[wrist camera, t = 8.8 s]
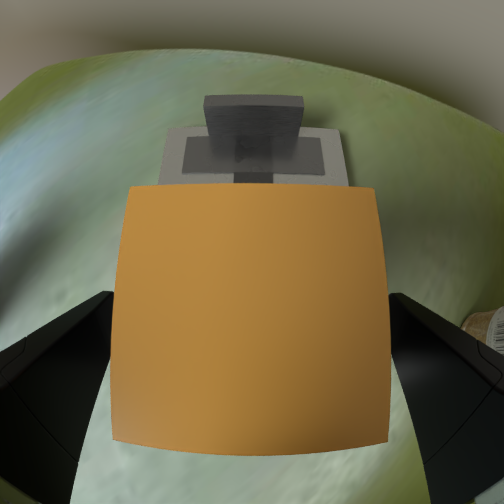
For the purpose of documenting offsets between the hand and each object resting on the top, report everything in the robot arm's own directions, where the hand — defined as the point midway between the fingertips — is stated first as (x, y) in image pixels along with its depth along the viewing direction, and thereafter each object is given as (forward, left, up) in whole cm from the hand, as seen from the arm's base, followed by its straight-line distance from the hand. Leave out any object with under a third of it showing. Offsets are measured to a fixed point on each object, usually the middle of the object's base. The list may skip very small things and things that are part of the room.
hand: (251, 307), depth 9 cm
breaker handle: (-1, 0, -6) cm, 6 cm away
